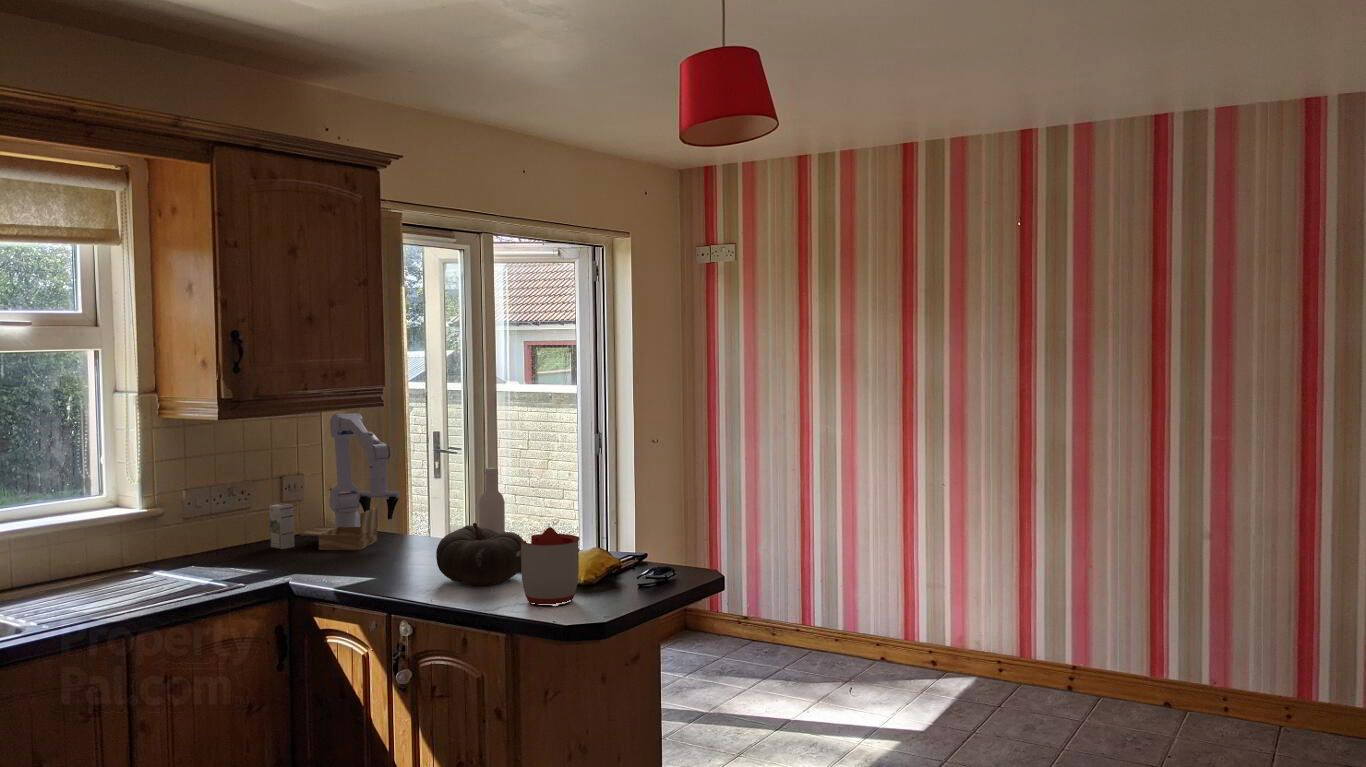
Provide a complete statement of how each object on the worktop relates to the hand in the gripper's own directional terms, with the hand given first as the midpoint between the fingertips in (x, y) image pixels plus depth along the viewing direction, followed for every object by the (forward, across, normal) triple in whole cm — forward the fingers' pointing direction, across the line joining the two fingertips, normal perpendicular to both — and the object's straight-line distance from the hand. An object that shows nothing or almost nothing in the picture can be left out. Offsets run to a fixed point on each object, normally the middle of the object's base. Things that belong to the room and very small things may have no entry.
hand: (378, 518), depth 353 cm
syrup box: (+10, -32, -5) cm, 33 cm away
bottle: (+10, +46, -27) cm, 54 cm away
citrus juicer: (+10, +74, -73) cm, 104 cm away
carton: (+9, -14, 0) cm, 17 cm away
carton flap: (+1, -4, 0) cm, 4 cm away
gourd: (+10, +50, -49) cm, 70 cm away
